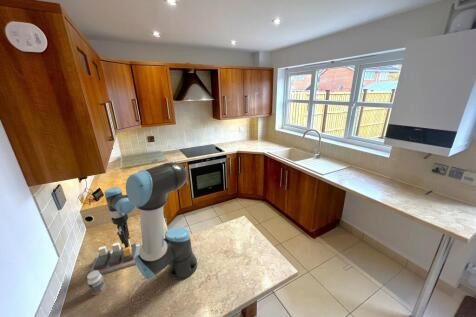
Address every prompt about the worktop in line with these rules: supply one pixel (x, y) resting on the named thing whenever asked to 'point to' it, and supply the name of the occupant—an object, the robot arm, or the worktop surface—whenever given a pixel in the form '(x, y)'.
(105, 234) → the worktop surface
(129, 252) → the block
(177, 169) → the robot arm
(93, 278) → the pill bottle
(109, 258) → the panel
